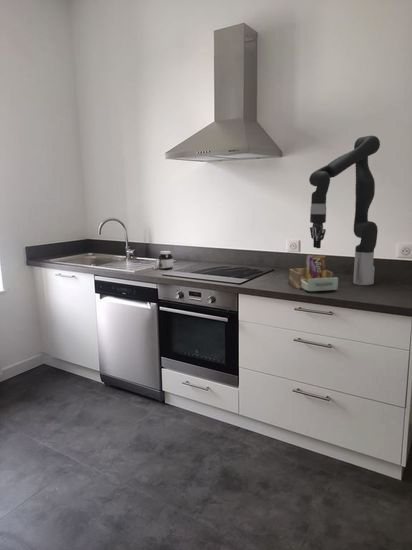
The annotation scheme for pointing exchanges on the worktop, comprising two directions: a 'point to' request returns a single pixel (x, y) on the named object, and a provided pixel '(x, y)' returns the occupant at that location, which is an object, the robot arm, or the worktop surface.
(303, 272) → the caddy
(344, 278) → the worktop surface
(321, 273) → the candy box
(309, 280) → the white boxy piece
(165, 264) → the spread jar
